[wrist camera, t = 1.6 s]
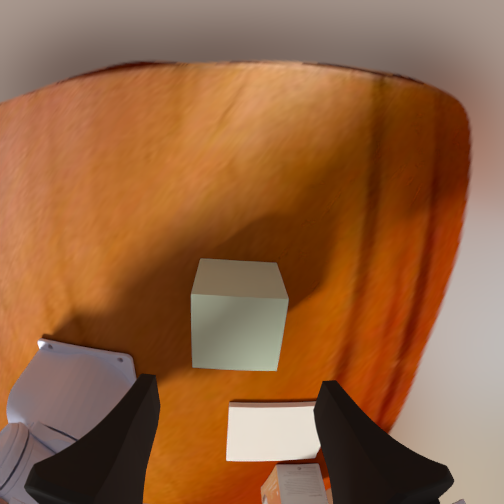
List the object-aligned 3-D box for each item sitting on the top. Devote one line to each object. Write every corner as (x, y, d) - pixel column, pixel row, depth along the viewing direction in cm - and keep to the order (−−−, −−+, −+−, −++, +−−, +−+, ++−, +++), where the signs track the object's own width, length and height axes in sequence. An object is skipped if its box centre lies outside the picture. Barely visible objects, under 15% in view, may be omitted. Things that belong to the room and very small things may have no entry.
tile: (226, 456, 28) (226, 460, 28) (229, 402, 25) (229, 406, 24) (314, 453, 29) (314, 457, 28) (337, 399, 25) (338, 404, 25)
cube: (199, 321, 22) (192, 367, 17) (200, 257, 20) (190, 293, 15) (268, 325, 22) (276, 370, 17) (276, 262, 20) (288, 299, 16)
